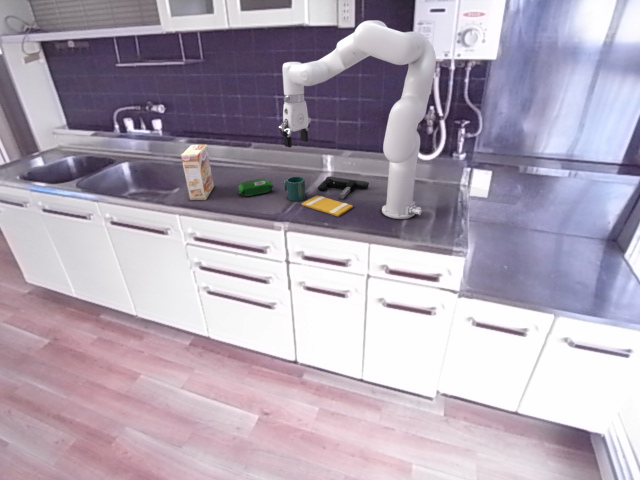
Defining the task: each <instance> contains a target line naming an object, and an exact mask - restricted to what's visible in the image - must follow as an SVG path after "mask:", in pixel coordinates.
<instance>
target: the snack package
mask: <svg viewBox="0 0 640 480" xmlns="http://www.w3.org/2000/svg"><path fill="white" fill-rule="evenodd" d="M273 183H274V182H272V181H271V180H268V179H266V178H258V179H251V180H245V181H241V182H240V183H239V184H238V187H237V191H238V194H239V195H242V196H244V197H249V196H250V197H252V196H256V195H261V194H267V193H269V192H270V191H271V190H272V189H273V188H274V184H273Z"/></svg>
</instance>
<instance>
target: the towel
mask: <svg viewBox="0 0 640 480" xmlns="http://www.w3.org/2000/svg"><path fill="white" fill-rule="evenodd" d="M301 206H302V207H306V208H309V209H312V210H315V211H319V212H321V213H325V214H328V215H332V216H335V217H340V216H342V215H343V214H345V213H347V212H348V211H350V210H351V209H352V208H353V207H354V205H352V204H350V203H346V202H343V201H338V200H334V199H332V198H328V197H325V196H322V195H315V196H313V197H311V198H309V199H307V200H305V201H303V202H302V203H301Z"/></svg>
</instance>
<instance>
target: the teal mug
mask: <svg viewBox="0 0 640 480" xmlns="http://www.w3.org/2000/svg"><path fill="white" fill-rule="evenodd" d="M305 180H306V179H305V178H304V177H303V176H291V177H288V178H287V179H286V178H284V180H283V182H284V191H285V192H287V199H288V200H289V201H290V202H300V201H304V200H305V199H306V181H305Z"/></svg>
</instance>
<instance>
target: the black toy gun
mask: <svg viewBox="0 0 640 480" xmlns="http://www.w3.org/2000/svg"><path fill="white" fill-rule="evenodd" d="M369 185H370V183H369V182H368V181H364V180H358V179H357V180H356V179H351V178H350V179H349V178H343V177H335V176H326V178H325V179H324V180H323V181H322V182H321V183H320V184H319V185H318V186H317V190H319V191H320V192H324V191H326V190H327V189H333V190H334V189H335V190H340V191H341V193H340V194H339V199H342V200H343V199H345V198H346V197H347V196H348V194H349V193H353V192H354V191H355V189H356V188H359V189H369Z"/></svg>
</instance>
